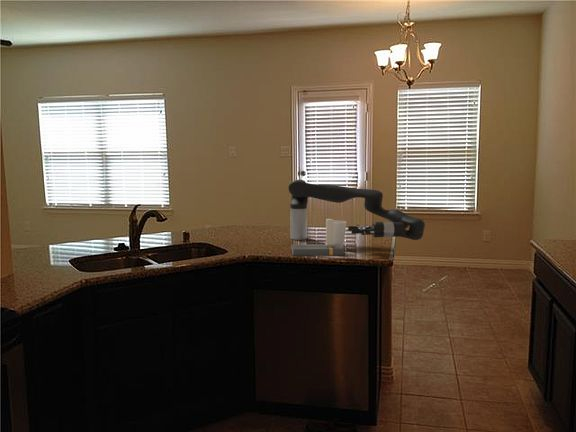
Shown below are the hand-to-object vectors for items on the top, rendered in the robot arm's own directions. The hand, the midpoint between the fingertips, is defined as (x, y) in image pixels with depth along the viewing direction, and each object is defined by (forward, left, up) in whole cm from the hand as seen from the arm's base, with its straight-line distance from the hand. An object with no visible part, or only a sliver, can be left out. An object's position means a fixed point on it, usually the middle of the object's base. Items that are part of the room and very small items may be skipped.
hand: (349, 229), depth 228 cm
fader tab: (+5, -9, -8) cm, 12 cm away
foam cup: (-11, -11, -11) cm, 19 cm away
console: (+8, -14, -11) cm, 19 cm away
